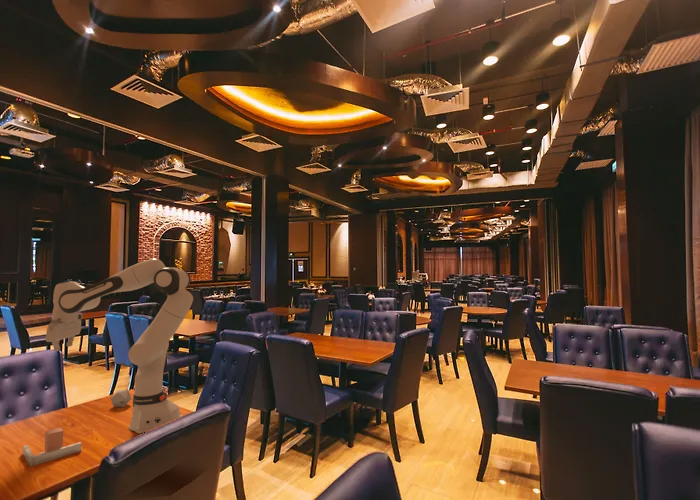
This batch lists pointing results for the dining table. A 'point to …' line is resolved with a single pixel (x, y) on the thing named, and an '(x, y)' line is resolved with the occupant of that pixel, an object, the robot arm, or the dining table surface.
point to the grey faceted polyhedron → (120, 398)
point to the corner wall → (49, 454)
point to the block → (53, 439)
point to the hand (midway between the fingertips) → (63, 348)
